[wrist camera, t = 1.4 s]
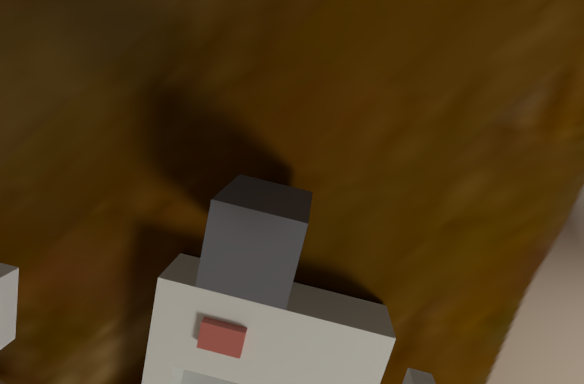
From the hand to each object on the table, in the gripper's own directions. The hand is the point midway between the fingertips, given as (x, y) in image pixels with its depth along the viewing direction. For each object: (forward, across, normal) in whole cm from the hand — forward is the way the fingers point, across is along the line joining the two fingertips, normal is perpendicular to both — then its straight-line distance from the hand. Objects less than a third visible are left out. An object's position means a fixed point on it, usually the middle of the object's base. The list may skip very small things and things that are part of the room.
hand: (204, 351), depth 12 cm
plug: (+15, 0, 0) cm, 15 cm away
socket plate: (+15, +2, -13) cm, 20 cm away
